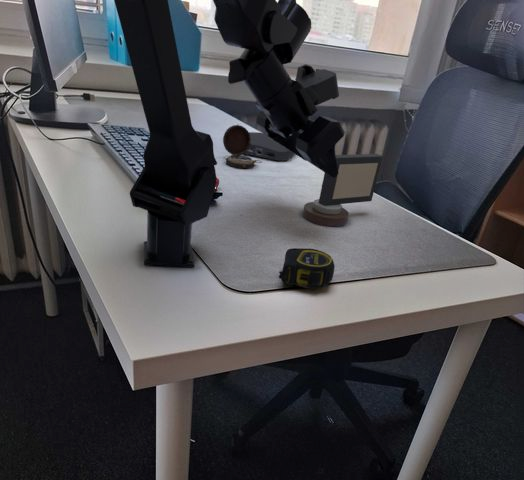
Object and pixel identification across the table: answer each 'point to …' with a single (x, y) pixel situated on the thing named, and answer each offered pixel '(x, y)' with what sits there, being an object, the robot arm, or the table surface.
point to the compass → (238, 147)
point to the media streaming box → (267, 147)
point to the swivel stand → (325, 216)
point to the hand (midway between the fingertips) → (321, 166)
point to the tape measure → (307, 268)
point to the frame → (349, 182)
